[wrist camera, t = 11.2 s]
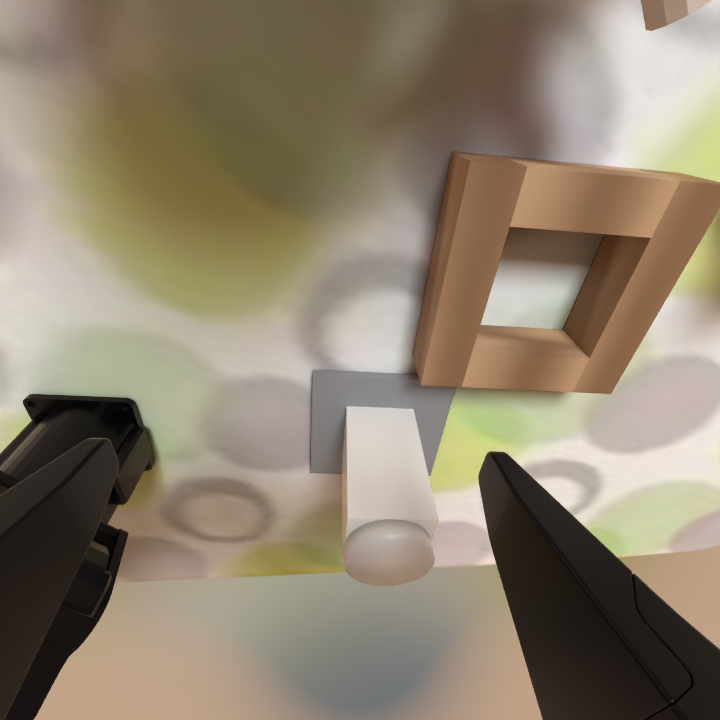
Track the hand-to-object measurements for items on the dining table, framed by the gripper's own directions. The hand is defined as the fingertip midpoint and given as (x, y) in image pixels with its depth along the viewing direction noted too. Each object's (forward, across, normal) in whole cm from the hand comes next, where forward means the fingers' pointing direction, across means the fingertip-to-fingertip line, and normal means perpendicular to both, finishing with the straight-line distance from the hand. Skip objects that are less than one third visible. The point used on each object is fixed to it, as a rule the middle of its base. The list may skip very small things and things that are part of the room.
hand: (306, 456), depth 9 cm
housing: (+13, -11, 0) cm, 17 cm away
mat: (+13, -4, +11) cm, 18 cm away
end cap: (+12, -4, +11) cm, 17 cm away
